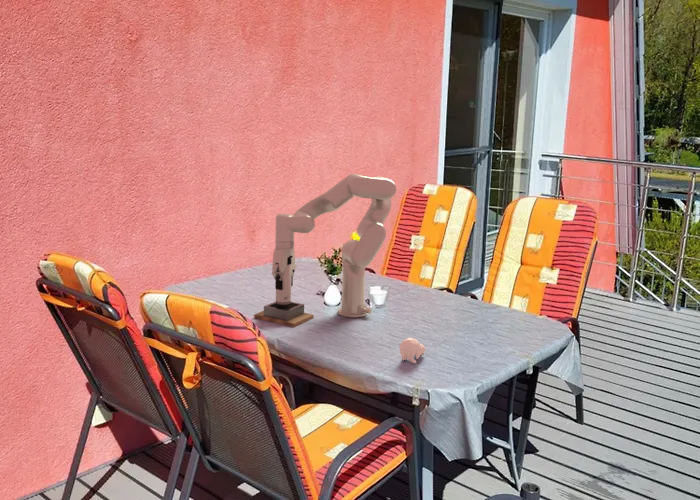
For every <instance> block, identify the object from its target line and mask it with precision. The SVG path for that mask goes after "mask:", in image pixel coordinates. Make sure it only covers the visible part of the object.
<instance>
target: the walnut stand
mask: <svg viewBox="0 0 700 500" xmlns="http://www.w3.org/2000/svg"><path fill="white" fill-rule="evenodd" d="M253 315H254V316H253V319H257V320H262V321H264V322H265V321H266V322H271V323H275V324H279V325H283V326H287V327H292V328H295V327H298V326H300V325H302V324H304V323H306V322H308V321H310V320H313V319H314V318H315V316H314V315H315V314H312V313H309V312H308V313H307V312H304V314H302V315H300V316H298V317H295V318H293V319H291V320H289V321H285V320H281V319H276V318H272V317H267V316H264V310H262V311H259V312H257V313H254V314H253Z"/></svg>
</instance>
